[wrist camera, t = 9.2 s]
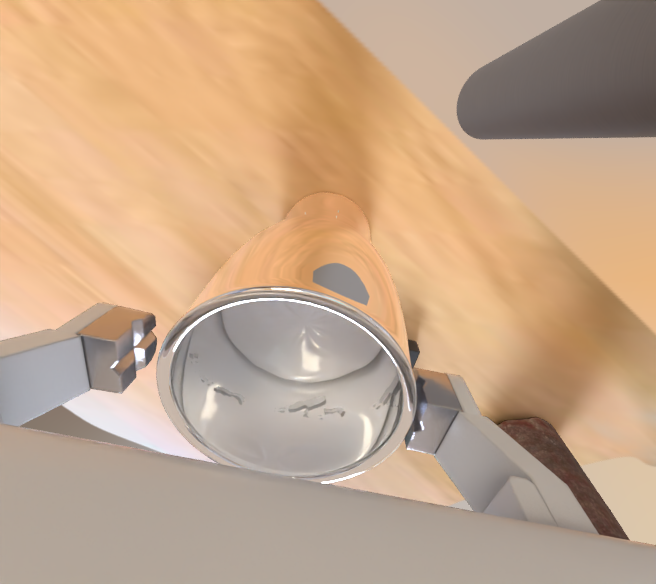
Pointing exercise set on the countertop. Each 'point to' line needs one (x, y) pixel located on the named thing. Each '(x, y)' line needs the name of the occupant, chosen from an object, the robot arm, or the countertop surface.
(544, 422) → the candle
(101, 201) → the countertop surface
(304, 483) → the robot arm
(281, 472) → the beer glass
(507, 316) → the countertop surface
